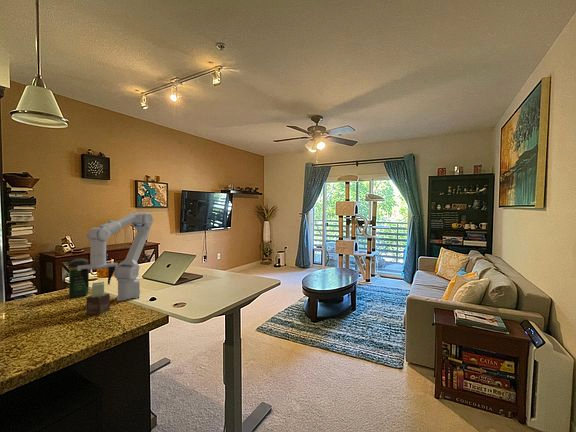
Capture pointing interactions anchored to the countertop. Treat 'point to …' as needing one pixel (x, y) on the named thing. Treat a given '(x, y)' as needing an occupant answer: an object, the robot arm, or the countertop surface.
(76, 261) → the coffee jar
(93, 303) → the box
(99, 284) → the sage block
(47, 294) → the countertop surface
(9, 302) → the countertop surface
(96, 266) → the robot arm
